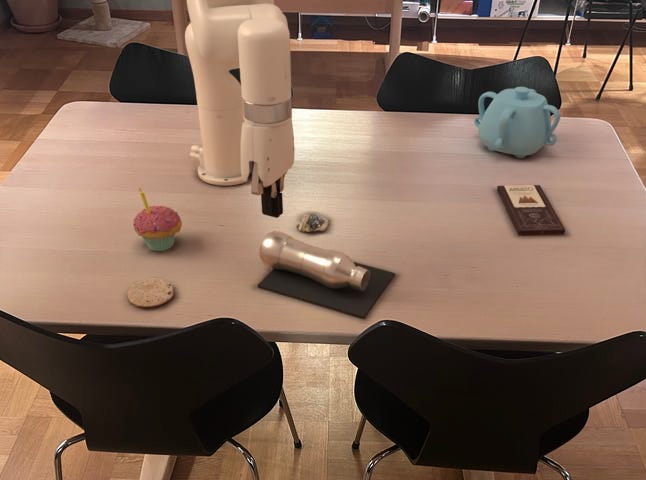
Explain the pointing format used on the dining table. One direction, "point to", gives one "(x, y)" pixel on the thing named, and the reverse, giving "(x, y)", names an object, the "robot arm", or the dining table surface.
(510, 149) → the decorative pot
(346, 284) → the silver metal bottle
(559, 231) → the chocolate bar
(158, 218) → the cupcake
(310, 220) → the mineral rock
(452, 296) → the dining table surface
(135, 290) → the flatbread
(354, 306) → the mat
